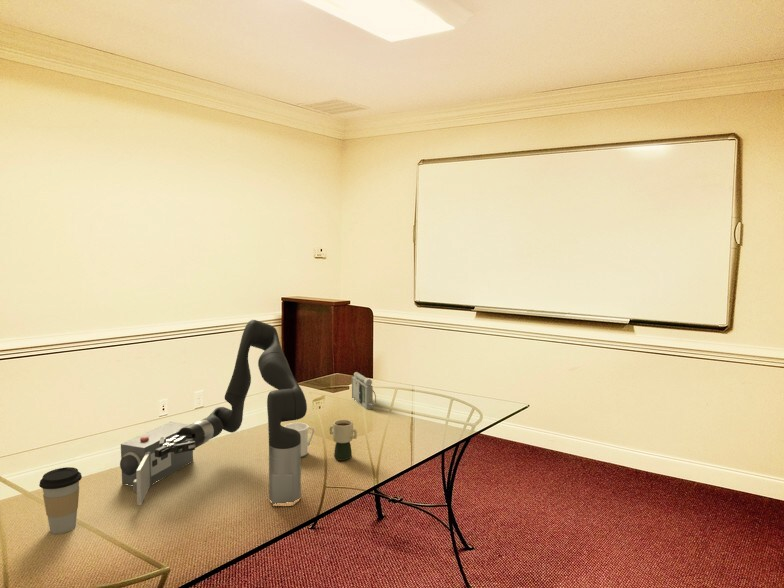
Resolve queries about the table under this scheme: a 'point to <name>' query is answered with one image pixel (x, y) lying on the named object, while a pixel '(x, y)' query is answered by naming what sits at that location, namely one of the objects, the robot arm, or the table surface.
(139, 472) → the side door
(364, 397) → the geiger counter
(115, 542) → the table surface
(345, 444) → the character mug
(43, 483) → the coffee cup
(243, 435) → the table surface
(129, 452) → the camera body
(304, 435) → the mug
